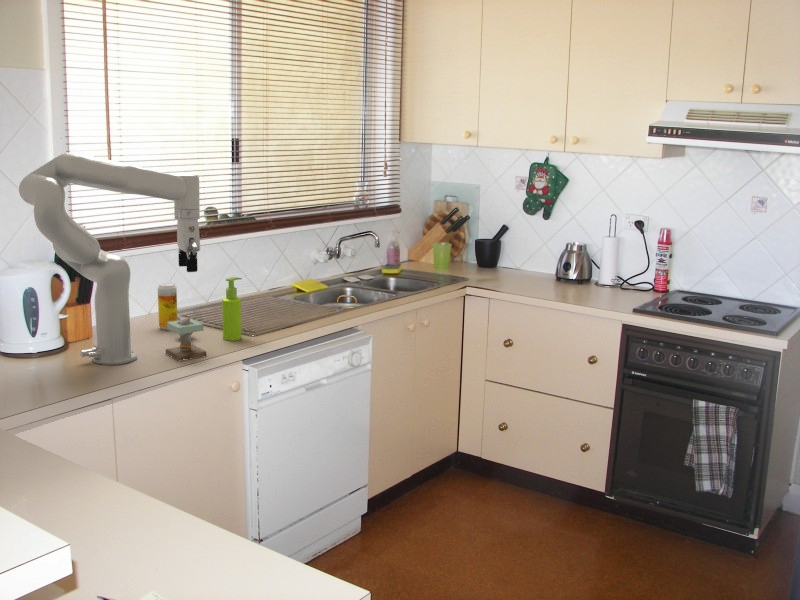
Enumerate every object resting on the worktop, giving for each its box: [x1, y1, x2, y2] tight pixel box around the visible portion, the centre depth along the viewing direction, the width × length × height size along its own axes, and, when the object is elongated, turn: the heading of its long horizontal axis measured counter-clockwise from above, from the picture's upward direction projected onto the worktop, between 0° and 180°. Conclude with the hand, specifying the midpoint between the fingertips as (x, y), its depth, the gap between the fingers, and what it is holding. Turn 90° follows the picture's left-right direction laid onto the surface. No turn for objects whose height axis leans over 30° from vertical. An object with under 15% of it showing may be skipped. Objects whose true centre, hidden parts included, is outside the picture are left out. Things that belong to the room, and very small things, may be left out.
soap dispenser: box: [221, 276, 243, 341], centre depth 281 cm, size 6×7×20 cm
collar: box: [167, 318, 205, 335], centre depth 261 cm, size 8×8×2 cm
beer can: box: [157, 282, 179, 331], centre depth 291 cm, size 6×6×15 cm
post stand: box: [165, 316, 208, 361], centre depth 262 cm, size 9×9×12 cm
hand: (187, 268), depth 269 cm, fingers open, 9 cm apart
